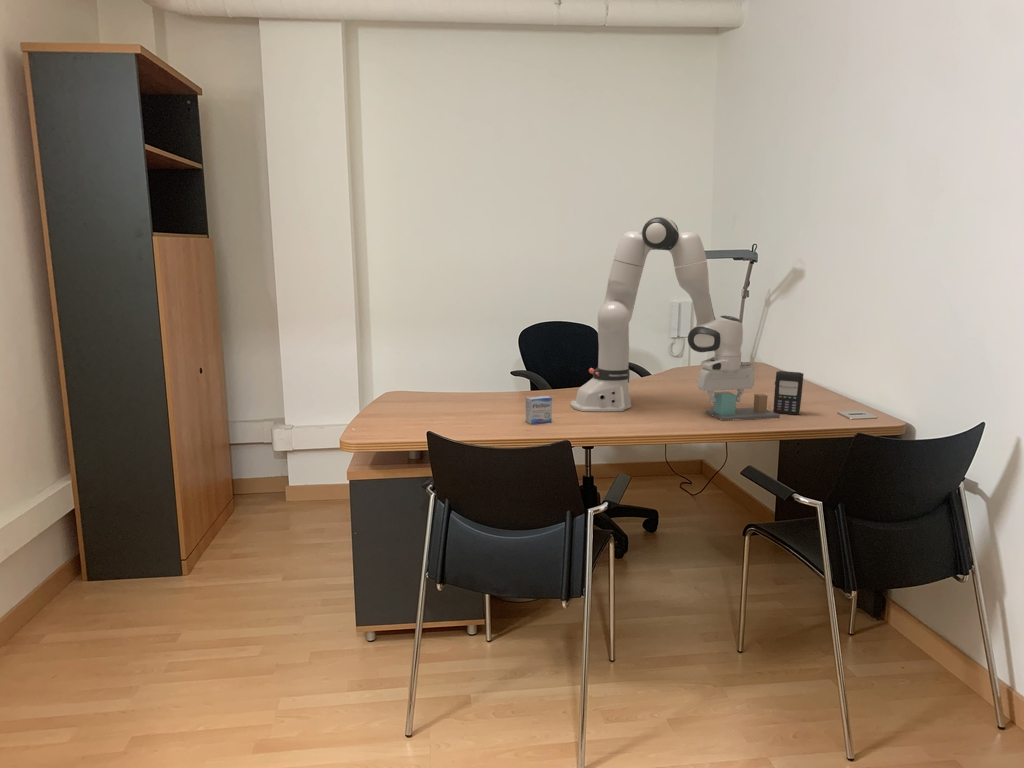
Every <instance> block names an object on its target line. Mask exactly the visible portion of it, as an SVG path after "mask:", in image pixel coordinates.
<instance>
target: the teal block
mask: <svg viewBox="0 0 1024 768" xmlns="http://www.w3.org/2000/svg"><path fill="white" fill-rule="evenodd" d="M713 394H714V395H713V397H714V398H716V403H713V412H715V413H717V414H719V415H721V416H722V415H735V408H737V407H736V405H737V402H736V395H737V394H736V393H732V392H730V391H714V393H713Z"/></svg>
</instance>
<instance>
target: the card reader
mask: <svg viewBox="0 0 1024 768" xmlns="http://www.w3.org/2000/svg"><path fill="white" fill-rule="evenodd" d="M804 375H805V374H804V373H803V372H801V371H800V372H798V371H786V370H779V371H776V372H775V381H774V395H773V412H774V413H776V414H785V415H795V416H798V415H800V413H801V412H800V411H801V404H802V393H803V385H804Z"/></svg>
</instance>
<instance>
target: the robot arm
mask: <svg viewBox="0 0 1024 768" xmlns="http://www.w3.org/2000/svg"><path fill="white" fill-rule="evenodd" d="M652 250H653V251H655V250H657V251H668V252H670V254H671V257H672V261H673V267H674V272H675V273H674V274H675V276H676V279H677V283H678V285H679V287H680V288H681V289H683V290H684V291H685V292H686V293H687V294H688V295H689V297H690V298H691V302H692V305H693V309H694V315H695V319H696V325H695V326H694V327H693V328H692V329H691V330H690V331H689V333H688V335H687V342H688V345H689V347H690V348H691V349H692V350H693V352H694V351H695V352H697V353H707V352H714V356H712V357H711V358H708V359H705V360H702V361H701V363H700V367H701V369H700V370H699V371H698V375H697V376H698V377H697V388H698V389H699V390H701V391H702V392H706V393H707V395H708V397H709V403H710V404H714V403H716V398H714V395H713V394H714V392H715V391H730V390H731V391H732V390H736V391H737V394H735V395H736V403H737V402H741V397H742V395H743V394H744V393H745V390H749V389H750V390H752V389H753V388H754V386H755V376H754V375H755V373H754V372H755V365H754V364H753V363H751V362H742V351H741V350H742V349H741V348H742V345H743V342H744V341H743V340H744V339H743V338H744V332H743V331H744V328H743V327H744V326H743V322H742V321H741V320H740V319H739V318H738V317H734V316H730V315H720V316H719V317H717V318H716V316H715V314H714V308H713V303H712V298H711V294H710V288H709V287H710V286H709V285H710V284H709V280H710V279H709V267H708V261H707V255H706V251H705V248H704V245H703V242H702V239H701V237H700V235H699V234H698V233H696V232H694V231H683V232H680V231H679V227H678V226H677V224H676V223H675V222H674V220H672V219H669V218H667V217H664V216H659V217H657V216H656V217H653V218H651V219H649V220H647V221H646V222H645V224H644V225H643V227H642V231H634V230H630V231H626V232H625V233H624V234H623V235H622V236H621V238H620V240H619V243H618V245H617V248H616V251H615V254H614V256H613V260H612V264H611V268H610V272H609V276H608V280H607V287H606V292H605V298H604V302H603V305H602V306H601V307H600V309H599V310H598V312H597V337H598V338H597V340H598V359H597V361H598V362H597V363H598V364H597V367H596V368H595V369H594V367H593V368H592V367H590V368H589V369H588V372H589V373H590V374H591V375H592V378H590V380H588V381H587V382H586V383H584V384H583V385H581V386H580V387H579V388H578V389H577V392H576V393H577V394H576V398H575V400H570V404H569V405H570V407H571V408H573V409H575V410H577V411H581V412H624V411H625V410H626V409H629V408H631V407H632V402H631V398H630V390H629V383H630V368H629V361H630V340H629V339H630V335H629V333H630V329H629V328H630V327H629V326H630V321H631V320H632V316H633V313H634V308H635V305H636V300H637V295H638V291H639V286H640V282H641V278H642V276H643V272H644V268H645V263H646V259H647V257H648V254H649V253H650V252H651V251H652Z"/></svg>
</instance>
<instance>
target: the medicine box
mask: <svg viewBox="0 0 1024 768" xmlns="http://www.w3.org/2000/svg"><path fill="white" fill-rule="evenodd" d="M552 404H553V398H552V397H551V396H549V395H537V396H536V395H535V396H526V397H525V422H526V423H528V424H530V425H538V424H539V425H540V424H546V423H547V424H548V423H552V412H553V410H552V409H553V405H552Z"/></svg>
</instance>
